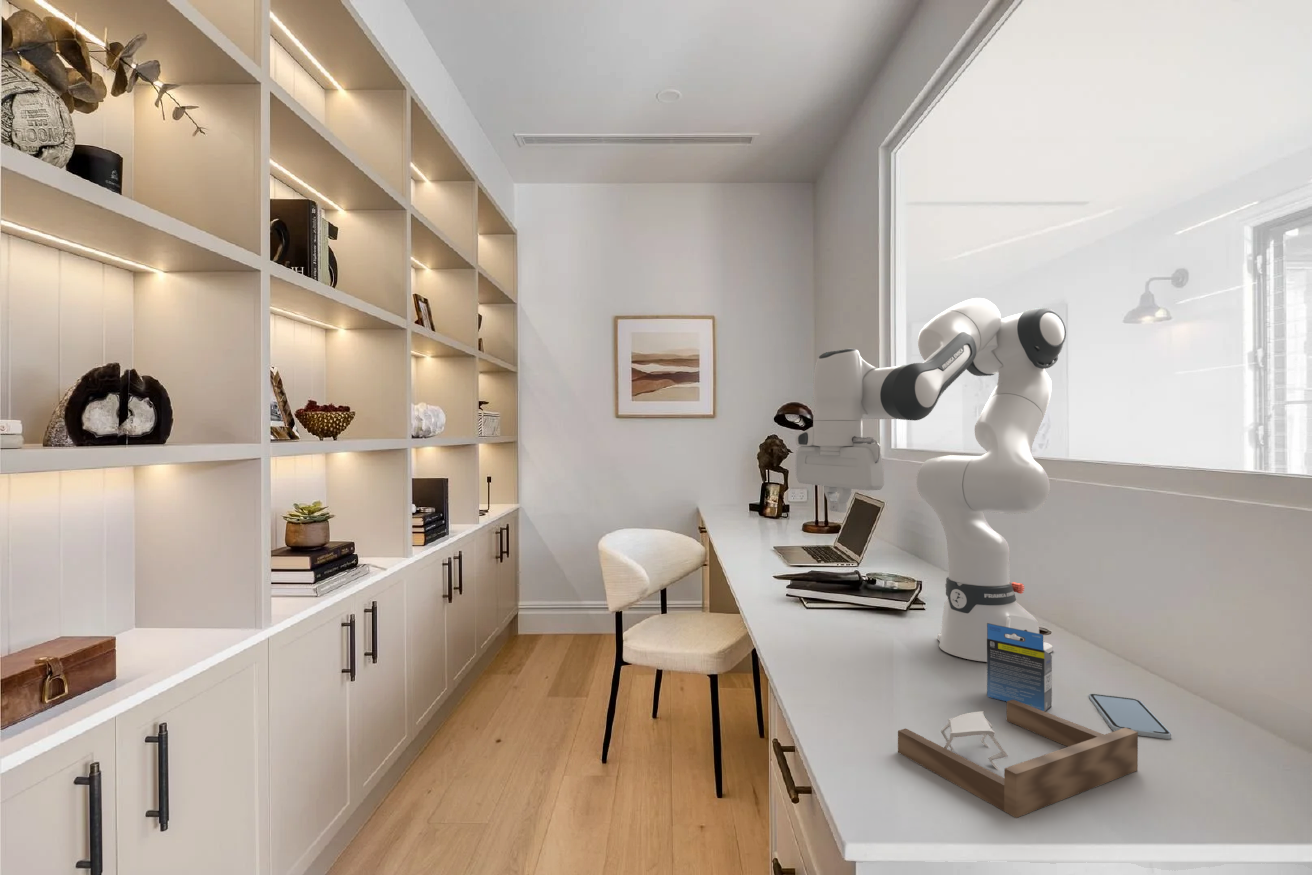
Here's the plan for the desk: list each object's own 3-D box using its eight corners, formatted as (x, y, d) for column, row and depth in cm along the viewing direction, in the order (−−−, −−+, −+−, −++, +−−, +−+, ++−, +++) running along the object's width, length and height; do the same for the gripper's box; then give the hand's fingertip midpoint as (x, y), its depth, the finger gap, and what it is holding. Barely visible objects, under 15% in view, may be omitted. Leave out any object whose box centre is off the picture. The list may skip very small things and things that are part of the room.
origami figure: (1006, 785, 84) (1006, 746, 84) (934, 768, 88) (934, 730, 88) (1012, 747, 94) (1013, 711, 94) (948, 733, 99) (948, 699, 98)
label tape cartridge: (1053, 706, 108) (1053, 629, 108) (1044, 713, 105) (1044, 634, 105) (995, 690, 114) (995, 618, 114) (985, 696, 112) (985, 622, 112)
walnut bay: (1013, 719, 103) (1013, 686, 103) (1137, 770, 87) (1137, 732, 87) (897, 752, 92) (897, 715, 92) (1016, 817, 77) (1016, 774, 77)
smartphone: (1139, 698, 110) (1173, 735, 96) (1139, 704, 110) (1173, 742, 96) (1086, 692, 113) (1113, 727, 99) (1086, 698, 113) (1113, 733, 99)
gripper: (893, 437, 117) (892, 516, 117) (815, 436, 135) (815, 505, 135) (865, 437, 114) (865, 519, 114) (789, 436, 132) (789, 507, 132)
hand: (837, 511), depth 125 cm, fingers closed
